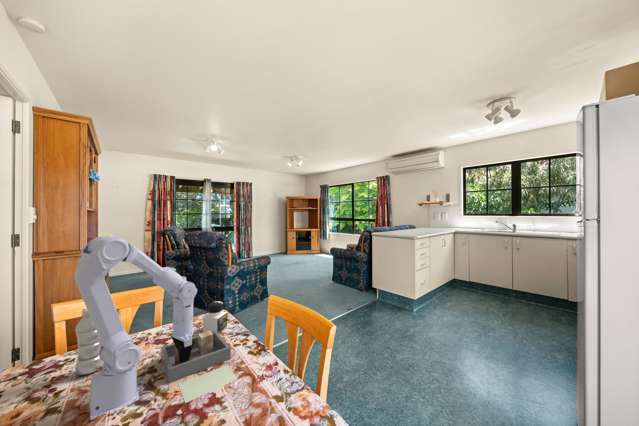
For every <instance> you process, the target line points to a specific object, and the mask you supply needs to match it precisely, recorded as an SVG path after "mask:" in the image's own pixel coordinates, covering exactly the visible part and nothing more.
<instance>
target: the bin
mask: <svg viewBox="0 0 639 426" xmlns="http://www.w3.org/2000/svg"><path fill="white" fill-rule="evenodd" d="M212 334H213V351H212V352H209V353H206V354H204V355H201V354H200V353H199V351H198V335H197V336H192V339H195V344H194V345H193V347H192V350H191V360H190V361H187V362H184V363H181V364H179V365H176V366H175V343H174V342H173V343H170V344H167V345H164V346H161V347H160V361H161V364H162V366H163V369H164V372H165V376H166V379H167V382H168V384H171V383H173V382H177V381H178V380H181V379H184V378H186V377H189V376H191V375H194V374H197V373H199V372H201V371H204V370H207V369H209V368H212V367H214V366H217V365H219V364H222V363H224V362H227V361H230V360H231V357H232V356H231V346H230V344H228V342H226V340H225V339H223V337H222V336H221V335H220V333H219V334H218V333H217V332H216V331H213V332H212Z"/></svg>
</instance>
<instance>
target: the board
mask: <svg viewBox="0 0 639 426" xmlns="http://www.w3.org/2000/svg"><path fill="white" fill-rule="evenodd" d="M235 381H238V377H237V375H236V374H235V373H234V372H233V371H232V369H231V367H230V366H229V365H228V364H226V365H223V366H221V367H219V368H216V369H213V370H210V371H208V372H206V373H204V374H201V375H199V376H196V377H193V378H192V379H189V380H187V381H184V382H181V383H179V384H178V387H179V390H180V393H181V396H182V398H183V400H184V403H185V404H187V403H189V402H191V401H193V400H195V399H198V398H200V397H202V396H205V395H206V394H208V393H211V392H213V391H215V390H217V389H220V388H222V387H224V386H226V385H228V384H230V383H232V382H235Z"/></svg>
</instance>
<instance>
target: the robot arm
mask: <svg viewBox="0 0 639 426" xmlns="http://www.w3.org/2000/svg"><path fill="white" fill-rule="evenodd" d="M80 255H81V256H80V258H79V261H78V263H77V266H76V269H75V272H74V275H73V278H74V282H75V284H76V287H77V289H78V291H79V293H80V296H81V298H82V301H83V302H84V305H85V308H87V310H88V312H89V315H90V317H91V319H92V322H93V324H94V326H95V329H96V331H97V333H98V336H99V338H100V340H99V344H100V352H99V357H100V359H101V360H102V361H104V363H103V365H102V367H101V368H102V369H101V371H99V372H98V371H97V372H95V373H94V374H92V375H91V377H90V378H91V380H90V392H89V393H90V397H89V400H88V408H90V409H89V420H90V421H92V420H96V419H97V418H99V416H102V415H104V414H107V413H110V412H112V411H114V410H117V409H120V408H123V407H125V406H127V405H130V404H132V403H134V402H137V401H139V400H140V394H139V387H138V382H137V380H138V379H137V377H138V376H137V375H138V374H137V372H138V371H137V368H138V367H137V366H138V361H139V360H140V358H141V355H142V350H141V348H140V347H139V346H138V345H137V344H134V343H133V339H132V338H131V336H130V335H129V334H128V333H127V331H126V329H125V327H124V325H123V322H122V319H121V317H120V314H119V312H118V310H117V307H116V305H115V303H114V300H113V298H112V294H111V291H110V289H109V287H108V285H107V283H106V282H107V281H106V279H105V277H106V276H107V274H108V273H109V272H110V270H111V269H112V268H114V267H115V266H116V265H117V264H119V263H120V262H123V263H131V264H132V265H134V266H136V267H137V268H139V269H140V270H142V271H144V272H146V273H147V274H149V275H150V276H152V282H153V283H154V284H155V285H157V286H158V287H159V288H161V289H162V290H164V291H166V292H168V293H169V295H170V296H171V297H173V302H172V303H173V305H172V306H173V309H172V310H173V311H172V312H173V313H172V316H173V317H172V318H173V319H172V333H171V334H172V335H171V336H170V338H171V340H172V341H173V343H175V346H176V348H177V349H178V353H179V358H180V362H181V363H184V362H187V361H189V358H190V353H191V350H192V347H193V345H194V344H195V339H192V338H193V335H194V332H196V331H198V328H197V326H194V302H195V301H194V300H195V297H196V295H197V293H198V288H197V287H196V285H195V283H194V282H192V281H187V277H186V276H181V275H180V274H179V273H178V272H176V271H177V269H176V268H175V267H170V266H165V267H162V266H160V264H158V263H157V262H156V261H154V260H153V259H152V258H150V257H149V256H148V255H147V254H145V253H144V252H143V251H142V250H140V249H139V248H138V247H136V246H135V245H133V244H131V243H128V242H127V241H126V240H124V239H123V238H120V237H108V236H97V237H95V238H93V239H91V240H90V241H89V242H88V243H87V244H85V246H84V247H83V248H82V249H81V252H80Z"/></svg>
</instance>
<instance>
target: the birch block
mask: <svg viewBox="0 0 639 426" xmlns="http://www.w3.org/2000/svg"><path fill="white" fill-rule="evenodd" d="M197 336H198V351H199V353H200V354H201V355H204V354H206V353H209V352H212V351H213V334H212V332H211V331H206V332H203V331H202V332H201V333H198V334H197Z"/></svg>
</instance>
